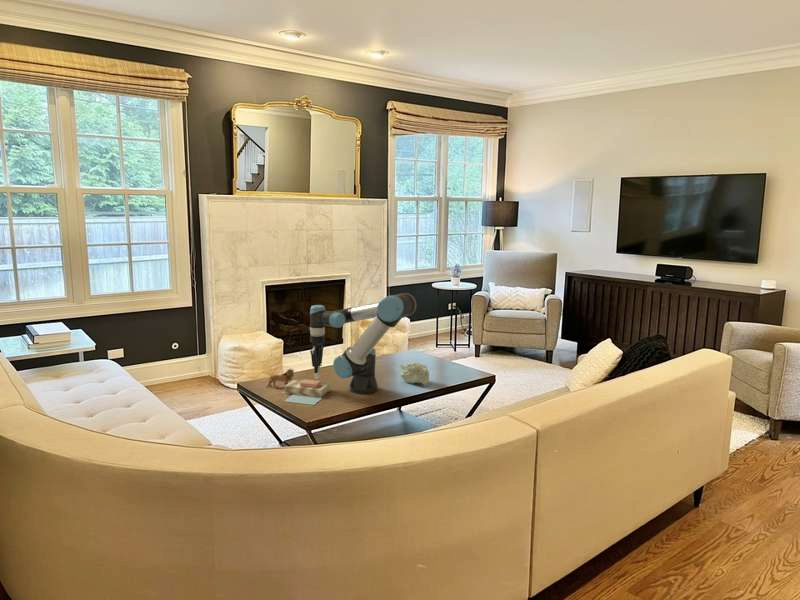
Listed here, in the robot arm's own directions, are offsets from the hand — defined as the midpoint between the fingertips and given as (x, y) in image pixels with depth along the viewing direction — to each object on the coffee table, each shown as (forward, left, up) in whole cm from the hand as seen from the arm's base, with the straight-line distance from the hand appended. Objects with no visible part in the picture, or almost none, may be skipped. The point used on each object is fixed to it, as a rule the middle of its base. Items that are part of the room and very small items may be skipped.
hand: (316, 378), depth 307 cm
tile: (0, +9, -1) cm, 9 cm away
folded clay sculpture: (-47, -26, -6) cm, 54 cm away
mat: (-1, +20, -5) cm, 20 cm away
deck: (+2, +8, -5) cm, 10 cm away
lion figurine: (+19, +3, -6) cm, 20 cm away
